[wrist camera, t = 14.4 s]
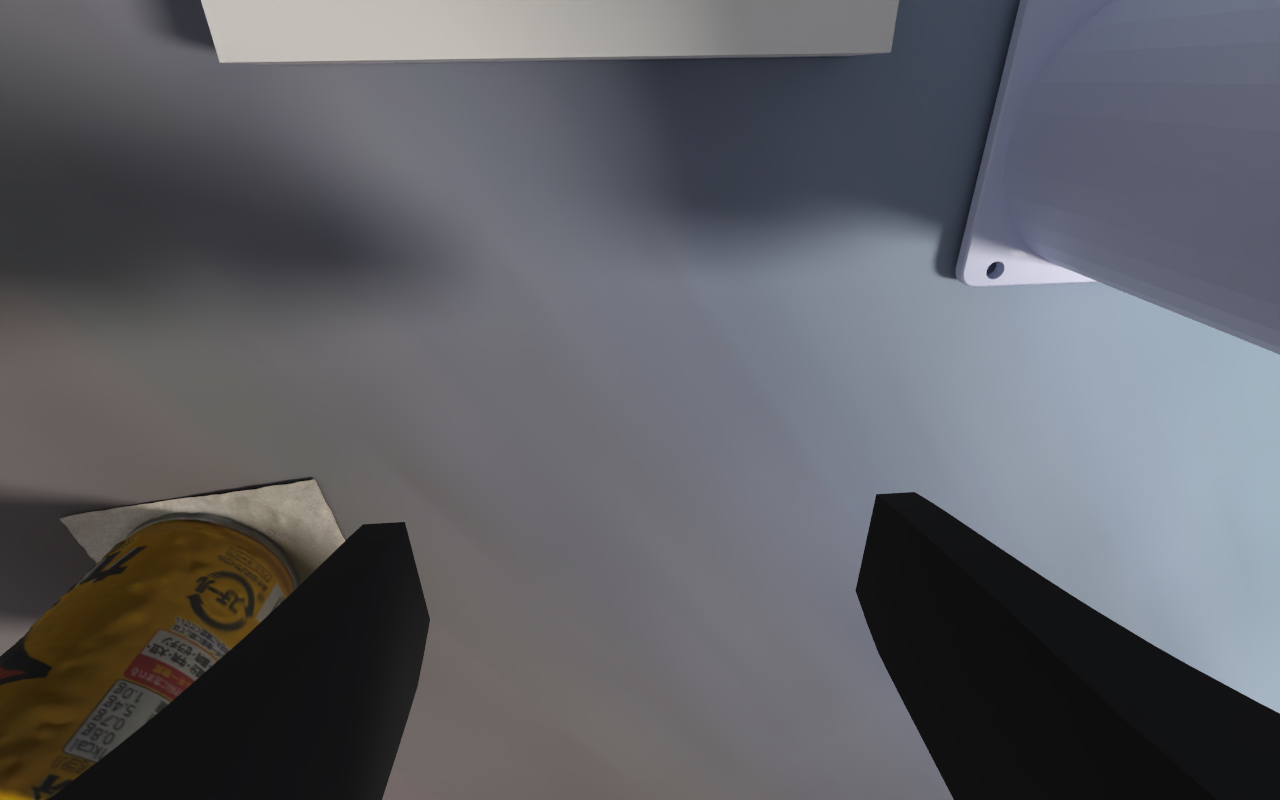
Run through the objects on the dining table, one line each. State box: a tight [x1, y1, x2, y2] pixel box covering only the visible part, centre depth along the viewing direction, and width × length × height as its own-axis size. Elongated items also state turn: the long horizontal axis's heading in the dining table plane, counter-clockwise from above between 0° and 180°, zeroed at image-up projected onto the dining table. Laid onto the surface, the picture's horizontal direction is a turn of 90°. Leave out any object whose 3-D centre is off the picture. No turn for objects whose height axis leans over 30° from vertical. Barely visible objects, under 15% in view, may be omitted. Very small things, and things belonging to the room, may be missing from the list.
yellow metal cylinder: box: [0, 480, 345, 800], centre depth 16 cm, size 7×8×12 cm
